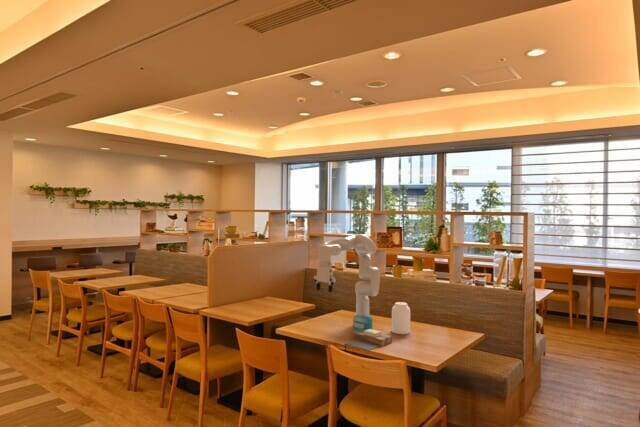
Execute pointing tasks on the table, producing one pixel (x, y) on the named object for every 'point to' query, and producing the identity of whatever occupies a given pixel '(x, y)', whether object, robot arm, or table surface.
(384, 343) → the block
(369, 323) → the data package
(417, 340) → the table surface
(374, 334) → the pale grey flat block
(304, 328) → the table surface
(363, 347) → the mat
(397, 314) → the can
